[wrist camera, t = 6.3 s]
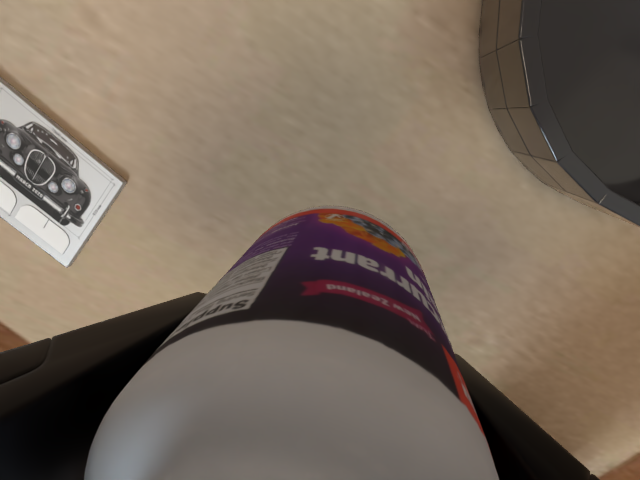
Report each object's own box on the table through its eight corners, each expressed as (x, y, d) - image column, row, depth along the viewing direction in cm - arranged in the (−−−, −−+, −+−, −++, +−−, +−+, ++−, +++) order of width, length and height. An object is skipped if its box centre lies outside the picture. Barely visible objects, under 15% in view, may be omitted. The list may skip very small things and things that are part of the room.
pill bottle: (461, 297, 11) (983, 1270, 2) (328, 390, 12) (225, 1151, 3) (337, 160, 10) (49, 617, 1) (211, 278, 12) (-361, 879, 2)
